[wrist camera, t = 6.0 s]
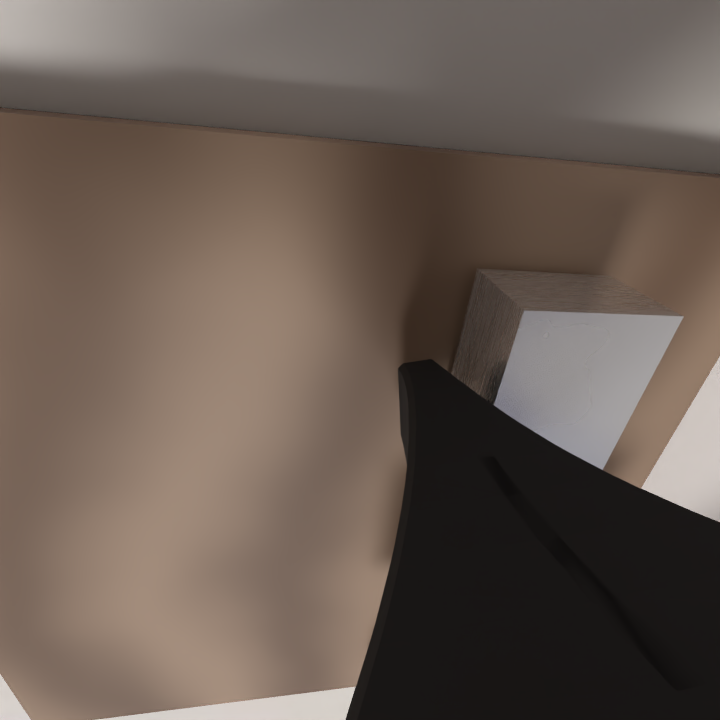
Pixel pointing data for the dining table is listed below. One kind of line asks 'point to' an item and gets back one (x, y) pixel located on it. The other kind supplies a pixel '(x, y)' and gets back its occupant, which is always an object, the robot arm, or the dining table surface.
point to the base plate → (264, 382)
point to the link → (563, 353)
